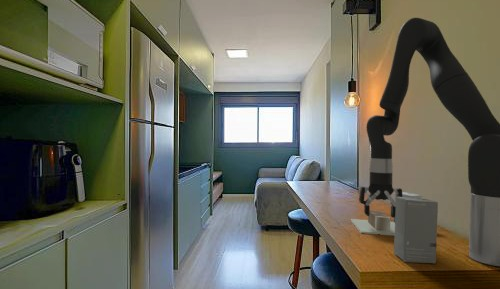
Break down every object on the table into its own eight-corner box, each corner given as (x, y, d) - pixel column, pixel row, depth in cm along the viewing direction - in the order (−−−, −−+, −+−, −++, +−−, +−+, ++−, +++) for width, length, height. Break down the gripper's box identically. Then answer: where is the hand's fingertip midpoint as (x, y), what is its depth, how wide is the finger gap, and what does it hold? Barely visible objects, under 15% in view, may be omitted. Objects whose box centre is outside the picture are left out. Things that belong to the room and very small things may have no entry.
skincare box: (403, 262, 76) (405, 200, 76) (392, 252, 83) (393, 195, 83) (438, 264, 75) (440, 201, 75) (423, 254, 82) (425, 196, 83)
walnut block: (380, 211, 114) (390, 217, 103) (380, 223, 114) (390, 231, 103) (368, 210, 114) (376, 217, 103) (368, 222, 114) (376, 230, 103)
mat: (393, 223, 117) (393, 221, 117) (411, 236, 99) (411, 235, 99) (350, 220, 119) (350, 218, 119) (360, 233, 101) (360, 231, 101)
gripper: (362, 171, 105) (361, 217, 105) (405, 172, 103) (405, 220, 103) (358, 169, 113) (357, 213, 113) (398, 171, 111) (397, 215, 111)
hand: (380, 216), depth 108 cm, fingers open, 8 cm apart
